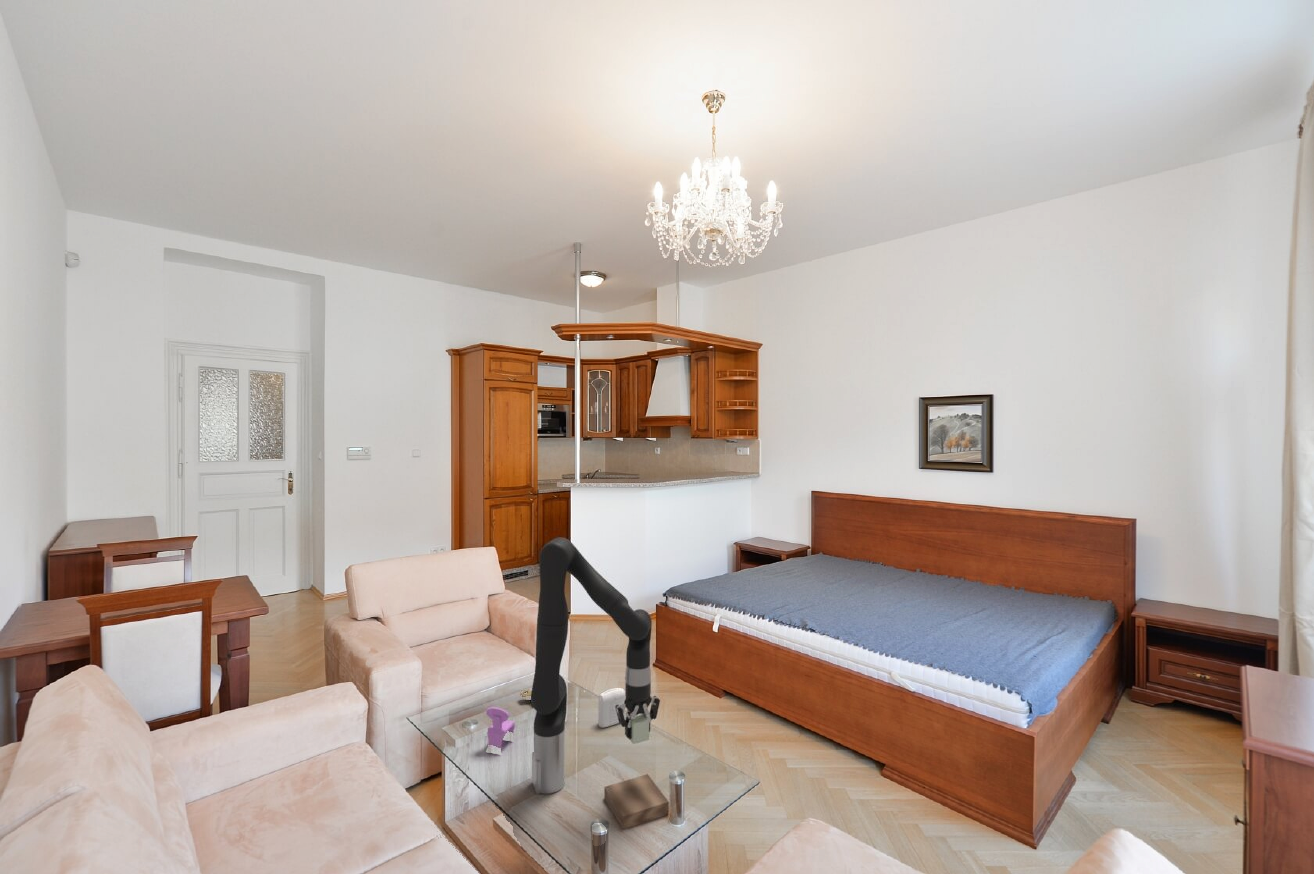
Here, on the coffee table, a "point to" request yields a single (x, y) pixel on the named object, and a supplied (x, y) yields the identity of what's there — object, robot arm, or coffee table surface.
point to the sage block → (640, 729)
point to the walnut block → (636, 801)
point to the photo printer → (610, 706)
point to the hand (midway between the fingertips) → (637, 735)
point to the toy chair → (498, 726)
